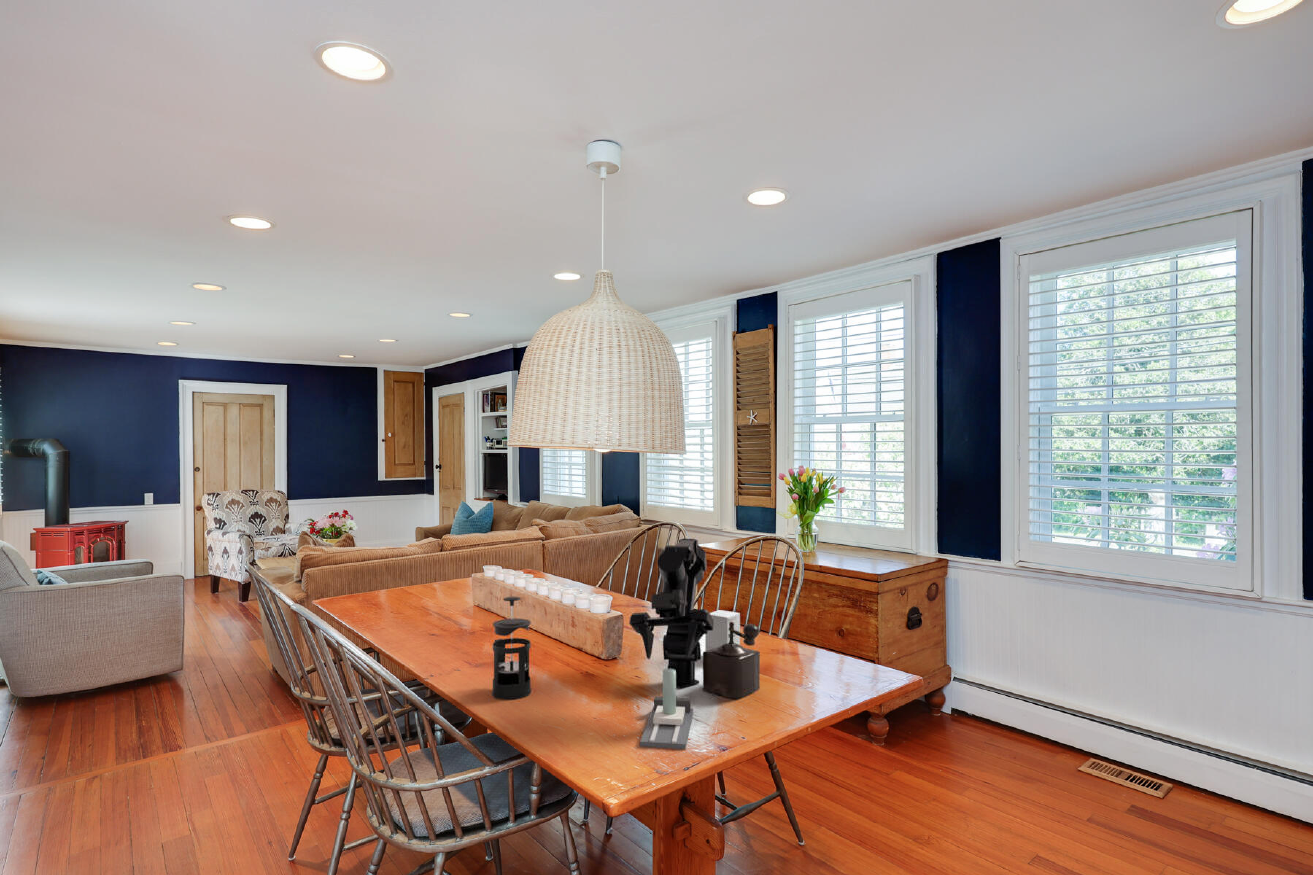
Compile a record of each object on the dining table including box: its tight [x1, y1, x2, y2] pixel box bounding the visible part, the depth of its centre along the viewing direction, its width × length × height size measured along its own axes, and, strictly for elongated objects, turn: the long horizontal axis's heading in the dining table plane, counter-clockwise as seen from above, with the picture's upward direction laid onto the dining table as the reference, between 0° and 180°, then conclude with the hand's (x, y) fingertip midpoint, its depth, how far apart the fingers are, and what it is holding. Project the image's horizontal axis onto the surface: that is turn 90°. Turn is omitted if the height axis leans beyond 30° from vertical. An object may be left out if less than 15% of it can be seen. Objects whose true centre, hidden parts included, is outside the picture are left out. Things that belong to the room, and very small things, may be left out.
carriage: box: [653, 668, 685, 725], centre depth 148 cm, size 7×6×10 cm
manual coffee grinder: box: [702, 622, 761, 700], centre depth 168 cm, size 16×11×18 cm
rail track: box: [639, 696, 694, 750], centre depth 146 cm, size 19×9×4 cm, turn 172°
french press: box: [491, 596, 532, 701], centre depth 168 cm, size 12×9×23 cm
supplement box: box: [704, 609, 741, 652], centre depth 196 cm, size 7×7×13 cm
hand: (667, 657), depth 154 cm, fingers open, 9 cm apart
